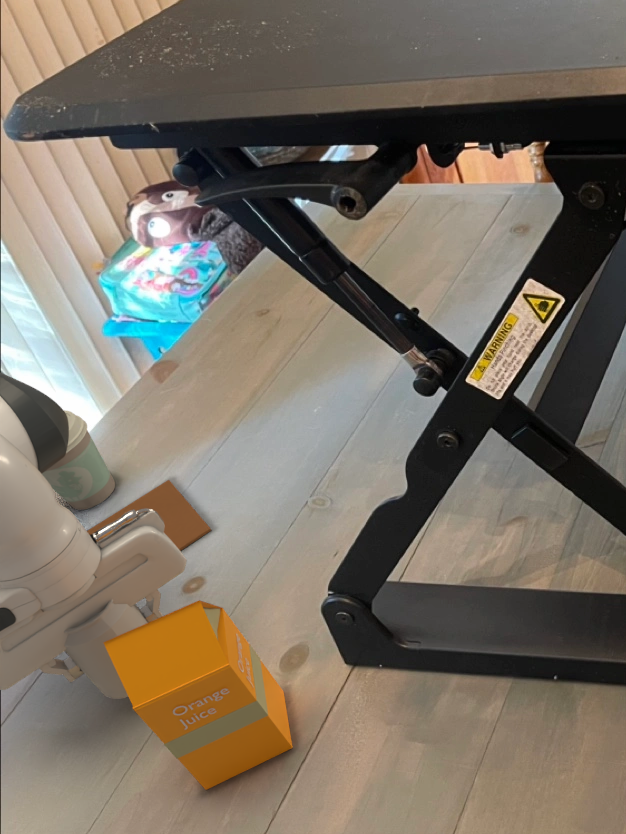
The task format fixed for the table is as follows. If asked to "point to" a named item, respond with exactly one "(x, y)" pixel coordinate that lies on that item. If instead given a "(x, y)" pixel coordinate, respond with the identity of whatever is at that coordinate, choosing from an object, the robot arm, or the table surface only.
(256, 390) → the table surface
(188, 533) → the mat
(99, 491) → the coffee cup
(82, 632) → the can
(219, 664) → the orange juice
